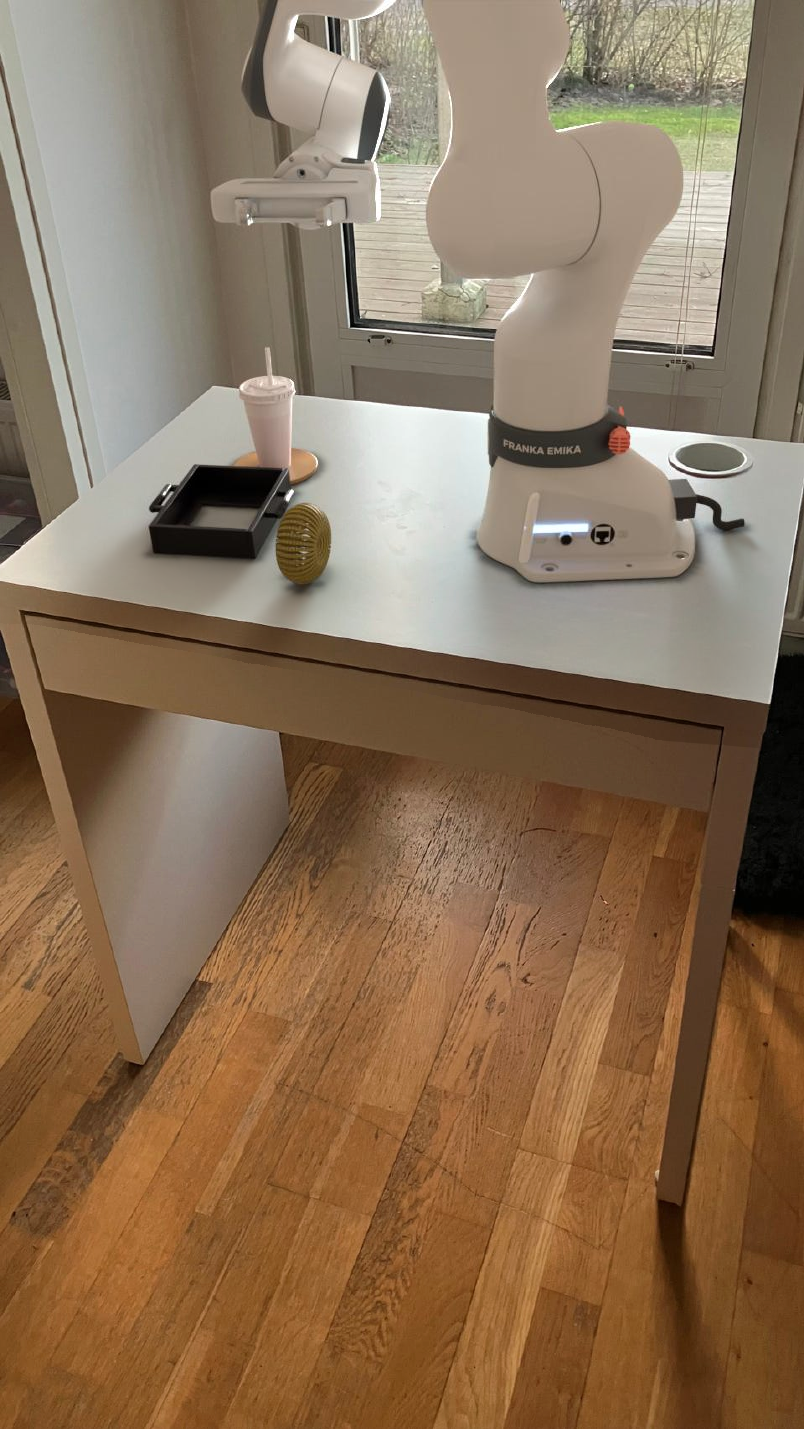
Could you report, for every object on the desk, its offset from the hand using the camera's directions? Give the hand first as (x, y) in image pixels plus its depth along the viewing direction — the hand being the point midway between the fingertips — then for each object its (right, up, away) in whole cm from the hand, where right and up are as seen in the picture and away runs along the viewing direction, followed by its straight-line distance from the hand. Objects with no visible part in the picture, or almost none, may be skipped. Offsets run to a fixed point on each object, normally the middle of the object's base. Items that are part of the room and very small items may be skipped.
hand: (281, 218), depth 135 cm
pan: (-6, -36, -5) cm, 36 cm away
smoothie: (-1, -27, +6) cm, 28 cm away
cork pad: (-1, -27, +6) cm, 28 cm away
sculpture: (+4, -43, -16) cm, 46 cm away
